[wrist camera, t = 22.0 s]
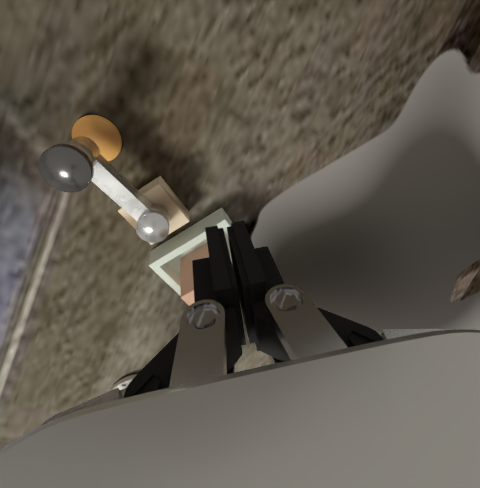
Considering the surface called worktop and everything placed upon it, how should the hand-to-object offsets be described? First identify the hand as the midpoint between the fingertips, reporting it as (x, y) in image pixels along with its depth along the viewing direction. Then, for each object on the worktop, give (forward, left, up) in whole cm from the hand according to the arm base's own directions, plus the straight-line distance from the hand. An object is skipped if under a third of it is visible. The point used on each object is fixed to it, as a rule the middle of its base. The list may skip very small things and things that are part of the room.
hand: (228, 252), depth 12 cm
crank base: (0, +10, -25) cm, 27 cm away
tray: (-15, +9, -25) cm, 31 cm away
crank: (0, +10, -22) cm, 24 cm away
